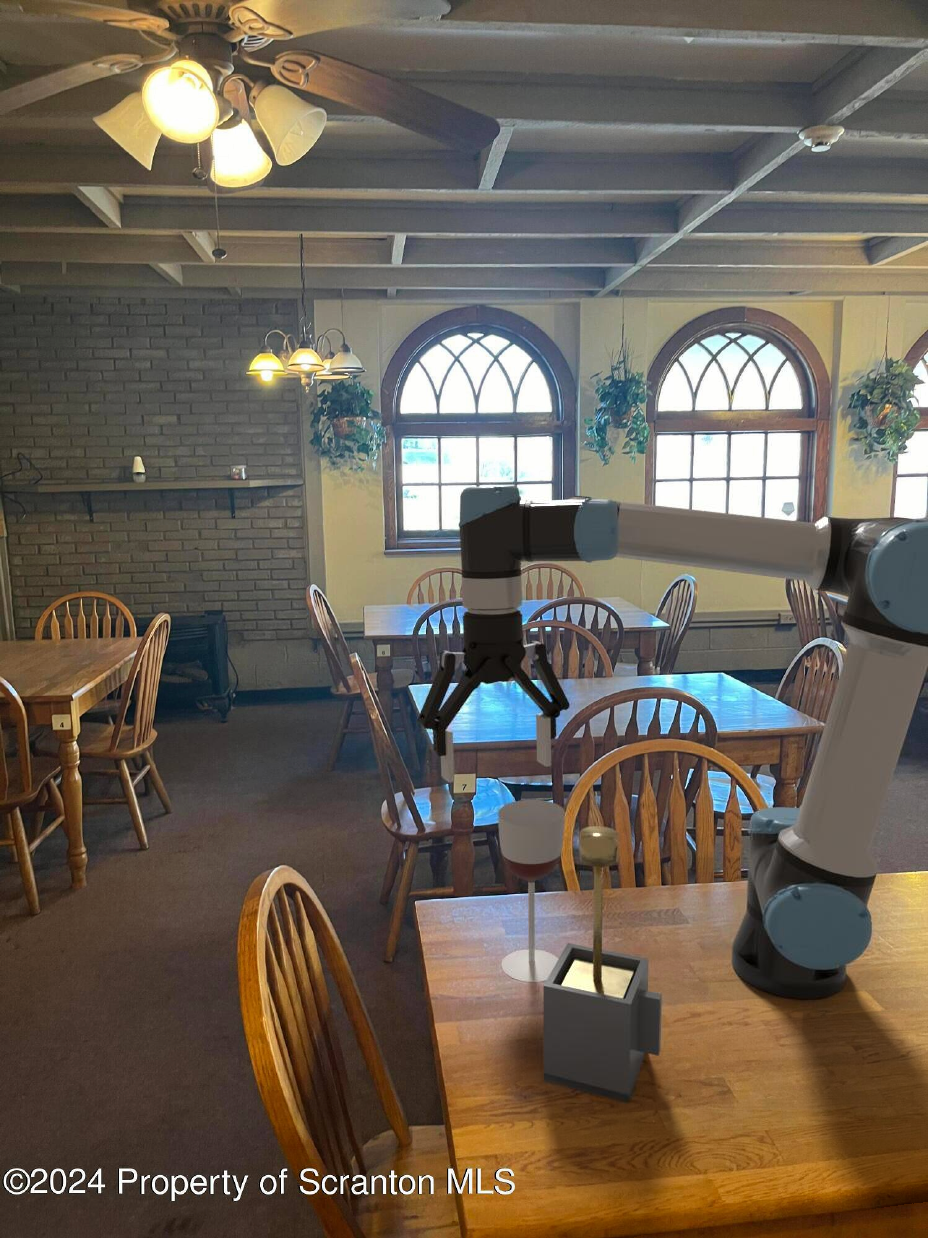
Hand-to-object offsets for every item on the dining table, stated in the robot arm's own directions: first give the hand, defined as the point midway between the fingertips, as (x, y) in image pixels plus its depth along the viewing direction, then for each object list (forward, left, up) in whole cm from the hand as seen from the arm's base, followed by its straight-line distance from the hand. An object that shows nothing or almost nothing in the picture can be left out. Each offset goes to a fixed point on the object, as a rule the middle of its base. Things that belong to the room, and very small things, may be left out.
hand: (497, 771), depth 115 cm
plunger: (-16, +9, -21) cm, 28 cm away
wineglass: (-2, -9, -32) cm, 33 cm away
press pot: (-17, +9, -32) cm, 37 cm away
